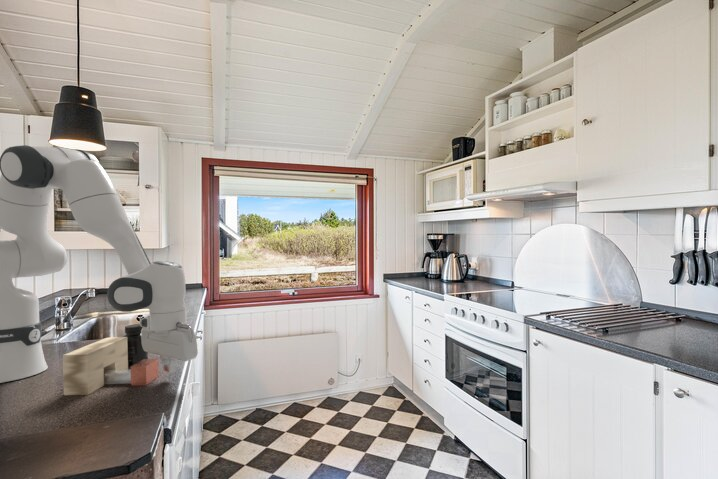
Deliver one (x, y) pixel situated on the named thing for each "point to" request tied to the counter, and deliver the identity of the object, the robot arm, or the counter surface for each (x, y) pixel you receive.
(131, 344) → the supplement bottle
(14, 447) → the counter surface
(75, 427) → the counter surface
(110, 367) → the birch block
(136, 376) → the orange and grey bar
